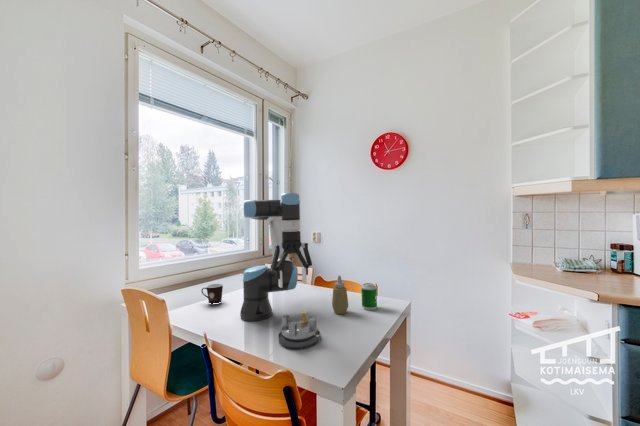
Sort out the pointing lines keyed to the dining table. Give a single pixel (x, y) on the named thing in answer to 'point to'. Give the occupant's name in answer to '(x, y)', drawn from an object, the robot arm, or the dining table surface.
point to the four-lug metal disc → (299, 328)
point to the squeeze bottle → (339, 297)
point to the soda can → (369, 296)
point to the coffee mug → (214, 293)
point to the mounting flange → (300, 344)
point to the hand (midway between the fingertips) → (292, 285)
